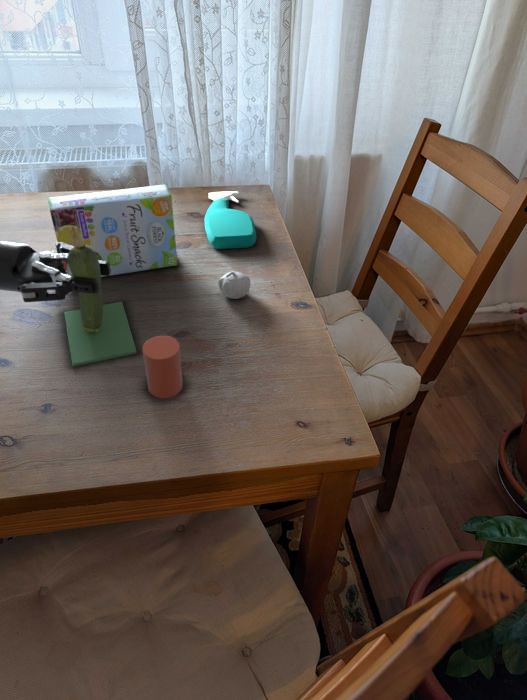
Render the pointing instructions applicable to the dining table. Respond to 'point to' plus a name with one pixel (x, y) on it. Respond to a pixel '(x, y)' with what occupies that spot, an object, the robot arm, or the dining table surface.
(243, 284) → the garlic
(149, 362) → the orange cylinder block
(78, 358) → the green mat
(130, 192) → the snack box
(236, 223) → the spray bottle
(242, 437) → the dining table surface
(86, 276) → the vegetable
